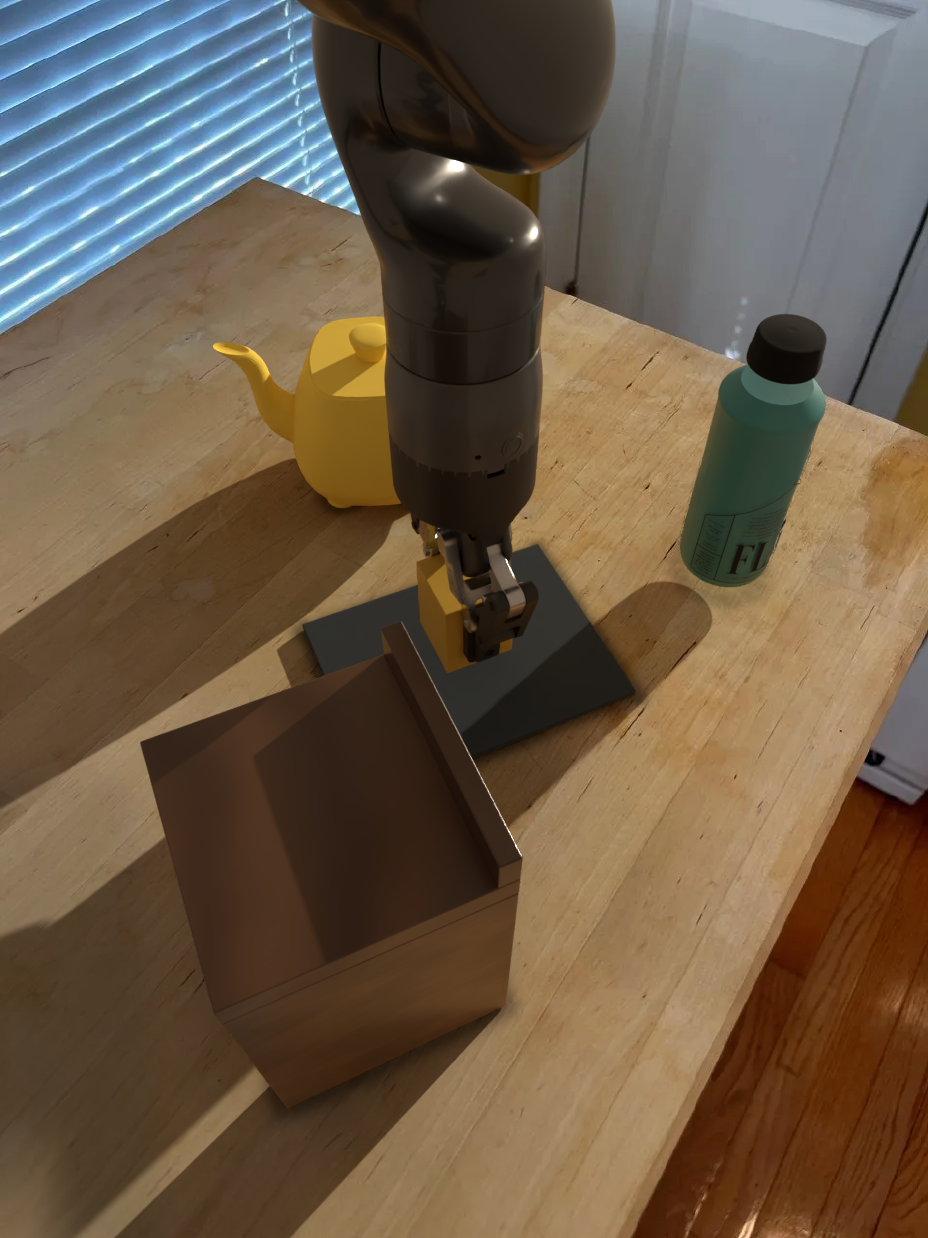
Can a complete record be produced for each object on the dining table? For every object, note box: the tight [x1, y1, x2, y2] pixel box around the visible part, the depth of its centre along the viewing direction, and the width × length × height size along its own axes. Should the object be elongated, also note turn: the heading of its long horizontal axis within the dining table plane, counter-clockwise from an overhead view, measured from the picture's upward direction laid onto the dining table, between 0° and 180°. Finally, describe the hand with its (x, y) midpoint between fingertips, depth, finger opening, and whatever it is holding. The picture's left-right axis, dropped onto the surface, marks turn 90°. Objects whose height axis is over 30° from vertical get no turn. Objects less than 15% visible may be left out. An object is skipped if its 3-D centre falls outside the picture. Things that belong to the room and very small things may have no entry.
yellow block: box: [415, 554, 512, 673], centre depth 58 cm, size 4×4×6 cm
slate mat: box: [302, 543, 637, 760], centre depth 62 cm, size 18×14×1 cm
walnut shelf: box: [139, 621, 524, 1109], centre depth 44 cm, size 12×12×19 cm
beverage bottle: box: [677, 313, 828, 588], centre depth 60 cm, size 6×7×20 cm
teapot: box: [212, 315, 402, 509], centre depth 69 cm, size 13×20×12 cm
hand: (464, 623), depth 59 cm, fingers closed on yellow block, 4 cm apart
